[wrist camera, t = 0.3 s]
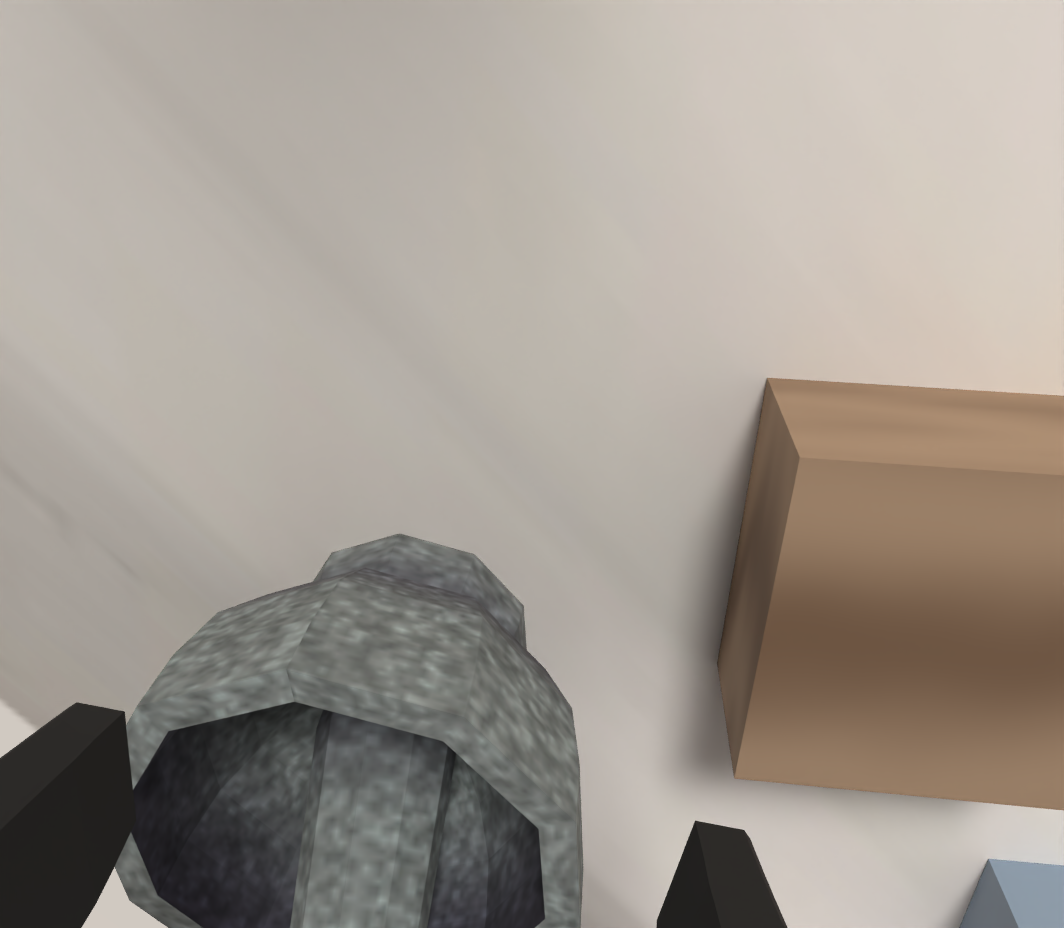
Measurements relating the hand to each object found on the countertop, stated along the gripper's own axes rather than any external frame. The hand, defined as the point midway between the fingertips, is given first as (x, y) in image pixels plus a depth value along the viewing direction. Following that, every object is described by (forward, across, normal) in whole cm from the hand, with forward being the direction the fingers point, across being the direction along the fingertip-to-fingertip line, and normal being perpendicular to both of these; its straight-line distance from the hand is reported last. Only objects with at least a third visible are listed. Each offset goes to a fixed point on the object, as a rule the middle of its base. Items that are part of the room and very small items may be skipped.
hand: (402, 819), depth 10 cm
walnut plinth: (+10, -10, 0) cm, 14 cm away
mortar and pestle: (+10, +1, +6) cm, 12 cm away
